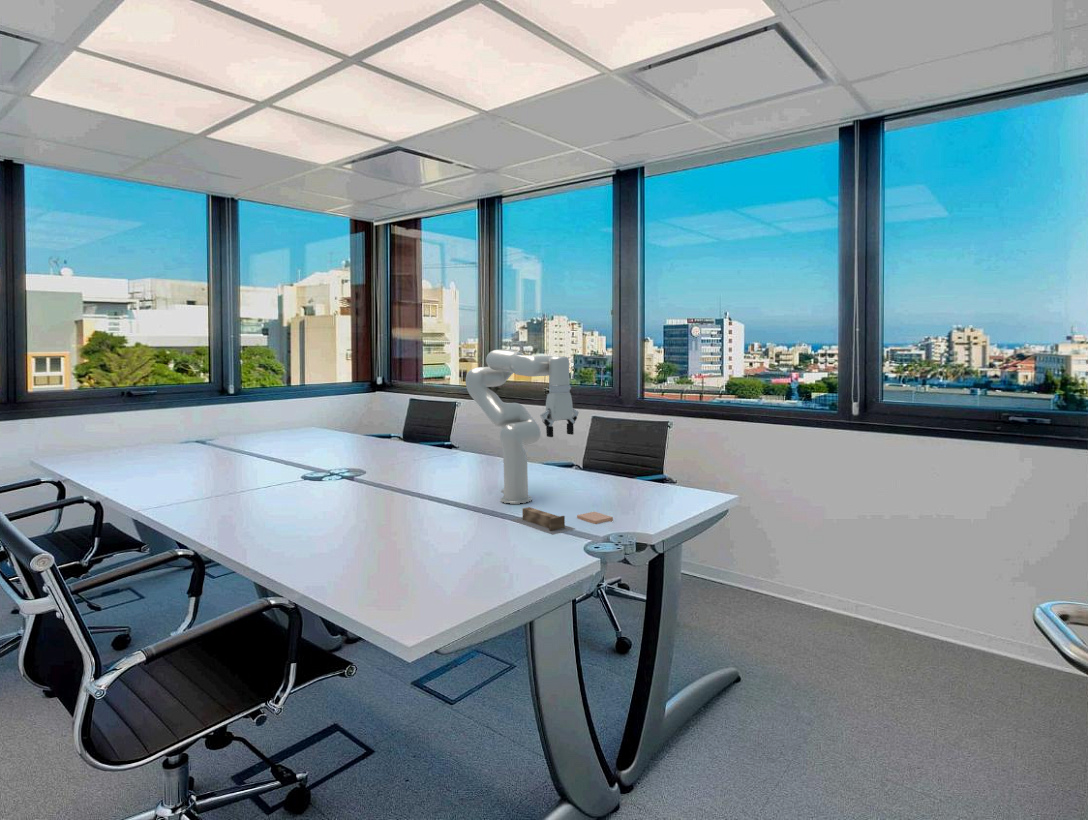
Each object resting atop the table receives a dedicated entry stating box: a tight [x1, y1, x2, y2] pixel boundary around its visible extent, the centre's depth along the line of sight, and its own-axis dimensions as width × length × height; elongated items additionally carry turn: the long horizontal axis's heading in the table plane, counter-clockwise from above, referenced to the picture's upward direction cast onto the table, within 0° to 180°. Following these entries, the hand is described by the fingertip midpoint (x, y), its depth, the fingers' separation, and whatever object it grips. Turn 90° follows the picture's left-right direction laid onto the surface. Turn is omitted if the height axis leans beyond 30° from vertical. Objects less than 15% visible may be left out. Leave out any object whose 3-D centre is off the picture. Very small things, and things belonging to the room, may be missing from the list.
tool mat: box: [511, 516, 576, 535], centre depth 224 cm, size 24×10×1 cm, turn 38°
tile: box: [576, 510, 614, 525], centre depth 229 cm, size 2×8×10 cm
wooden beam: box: [521, 506, 566, 531], centre depth 224 cm, size 18×6×4 cm, turn 38°
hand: (560, 435), depth 243 cm, fingers open, 9 cm apart
